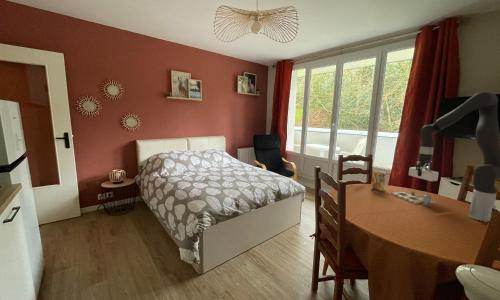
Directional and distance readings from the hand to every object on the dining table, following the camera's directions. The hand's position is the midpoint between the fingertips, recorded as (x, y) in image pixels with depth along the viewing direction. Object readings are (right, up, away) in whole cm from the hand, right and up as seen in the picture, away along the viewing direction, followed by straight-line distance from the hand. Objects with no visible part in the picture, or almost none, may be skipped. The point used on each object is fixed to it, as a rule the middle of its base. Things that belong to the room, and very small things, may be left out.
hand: (422, 175), depth 157 cm
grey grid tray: (-1, -17, +3) cm, 18 cm away
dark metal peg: (-8, -20, -12) cm, 24 cm away
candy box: (-22, -14, +20) cm, 33 cm away
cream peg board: (-11, -18, 0) cm, 21 cm away
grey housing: (0, -2, 0) cm, 2 cm away
